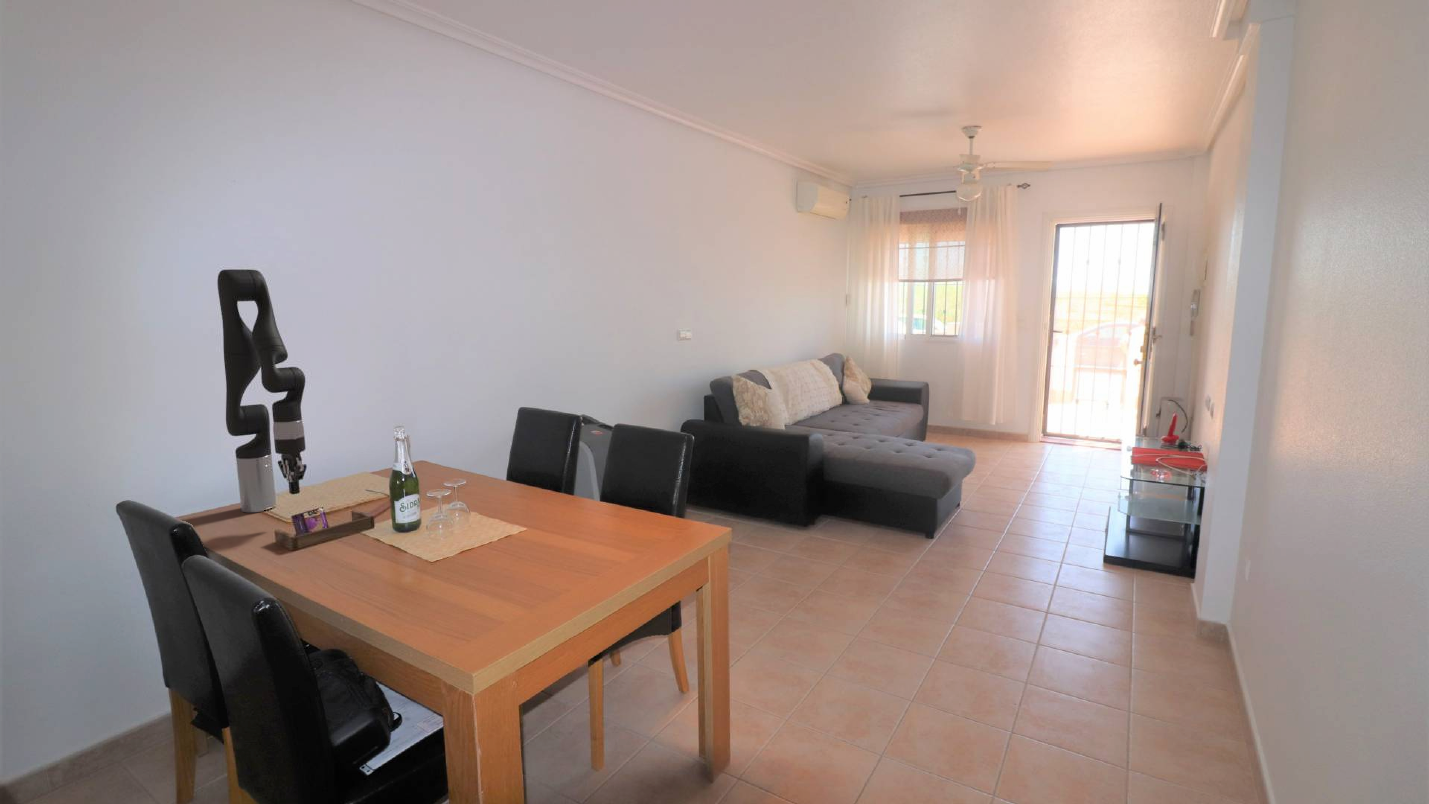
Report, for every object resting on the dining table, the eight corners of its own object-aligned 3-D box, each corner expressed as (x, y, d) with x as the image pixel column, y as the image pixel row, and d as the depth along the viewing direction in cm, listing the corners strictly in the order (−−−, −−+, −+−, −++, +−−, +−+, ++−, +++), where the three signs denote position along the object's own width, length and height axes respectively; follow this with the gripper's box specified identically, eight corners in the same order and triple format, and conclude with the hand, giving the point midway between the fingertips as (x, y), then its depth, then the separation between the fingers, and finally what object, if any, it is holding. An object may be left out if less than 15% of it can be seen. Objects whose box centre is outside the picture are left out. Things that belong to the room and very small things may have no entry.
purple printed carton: (293, 515, 186) (324, 506, 194) (283, 518, 189) (314, 509, 197) (300, 538, 186) (330, 528, 194) (289, 541, 189) (320, 531, 197)
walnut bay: (275, 542, 183) (274, 530, 183) (355, 520, 201) (354, 509, 201) (294, 550, 178) (293, 538, 177) (374, 527, 196) (373, 516, 195)
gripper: (264, 435, 195) (270, 493, 197) (285, 440, 188) (291, 500, 190) (292, 431, 201) (297, 487, 204) (314, 436, 194) (319, 494, 196)
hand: (294, 493), depth 197 cm, fingers closed
